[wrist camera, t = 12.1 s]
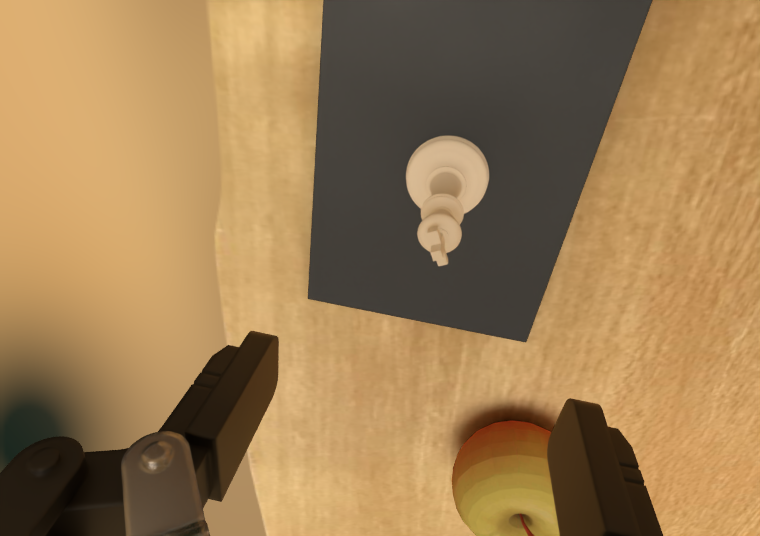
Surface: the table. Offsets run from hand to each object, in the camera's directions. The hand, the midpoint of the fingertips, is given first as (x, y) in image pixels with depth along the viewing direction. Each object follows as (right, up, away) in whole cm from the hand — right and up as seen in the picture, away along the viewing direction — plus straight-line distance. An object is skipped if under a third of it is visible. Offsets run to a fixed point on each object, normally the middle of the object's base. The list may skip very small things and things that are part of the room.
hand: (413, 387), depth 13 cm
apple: (+10, -11, +26) cm, 31 cm away
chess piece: (+3, +9, +15) cm, 18 cm away
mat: (+3, +9, +16) cm, 18 cm away
